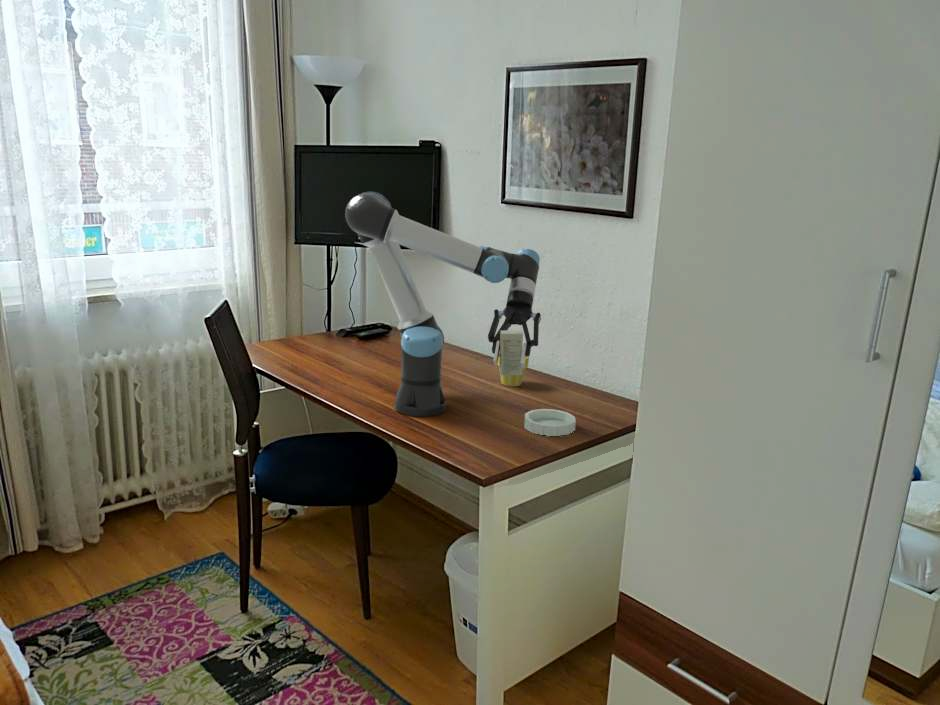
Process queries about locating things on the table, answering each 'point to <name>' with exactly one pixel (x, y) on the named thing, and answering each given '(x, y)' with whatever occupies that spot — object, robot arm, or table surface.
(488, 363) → the table surface
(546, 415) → the celadon dish
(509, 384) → the plant pot
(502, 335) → the skincare box
